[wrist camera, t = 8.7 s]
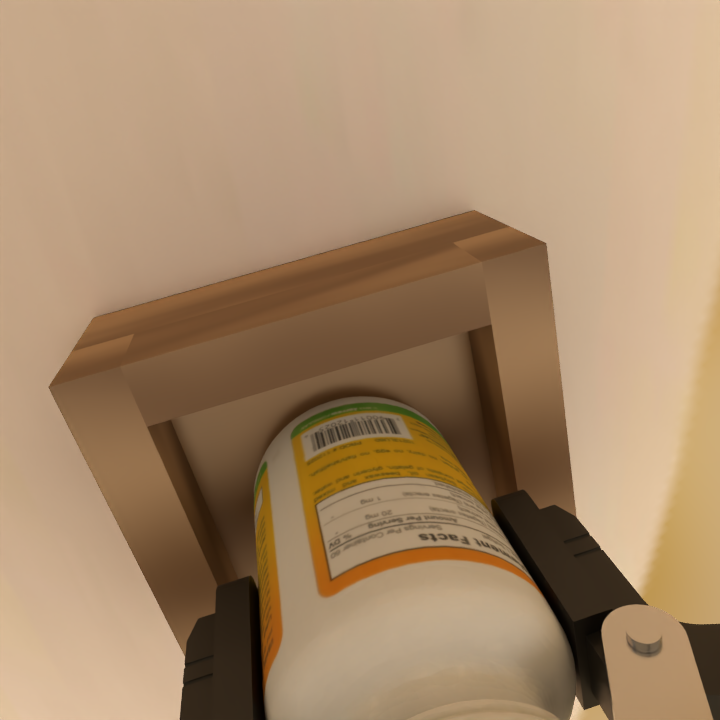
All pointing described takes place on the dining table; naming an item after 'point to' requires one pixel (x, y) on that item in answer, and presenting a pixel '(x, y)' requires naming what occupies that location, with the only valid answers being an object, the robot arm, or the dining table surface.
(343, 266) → the wooden open box
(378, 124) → the dining table surface
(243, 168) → the dining table surface
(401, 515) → the supplement bottle
